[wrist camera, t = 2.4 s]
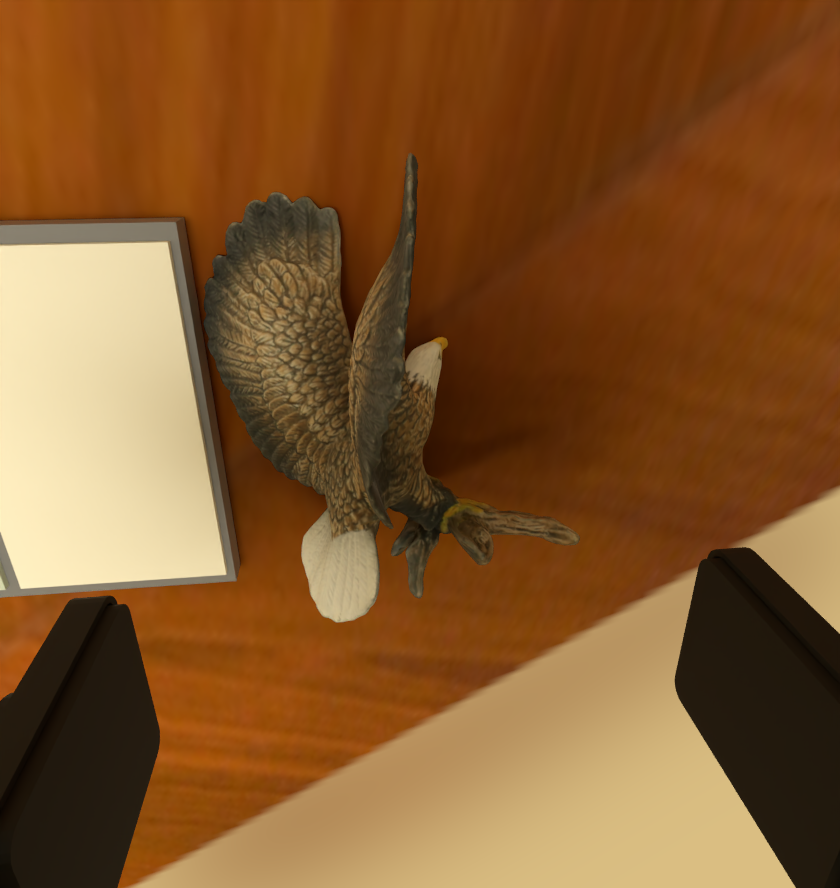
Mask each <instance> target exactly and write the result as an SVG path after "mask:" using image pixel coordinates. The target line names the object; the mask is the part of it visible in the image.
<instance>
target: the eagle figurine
mask: <svg viewBox="0 0 840 888" xmlns="http://www.w3.org/2000/svg"><path fill="white" fill-rule="evenodd" d="M405 169H406V174H405V184H404V198H403V210H402V217H401V224H400V230H399V233H398V236H397V239H396V242H395V245H394V247H393V250H392V252H391V255H390V256H389V258H388V260H387V261H386V263H385V264H384V266H383V267H382V269H381V271H380V273H379V275H378V277H377V279H376V281H375V283H374V285H373V287H372V288H371V289H370V291H369V293H368V295H367V298H366V301H365V303H364V306H363V309H362V311H361V314H360V316H359V318H358V321H357V323H356V329H355V332H354V339H353V346H352V342H351V337H350V333H349V330H348V326H347V321H346V317H345V314H344V311H343V307H342V301H341V293H340V284H341V264H342V262H341V253H340V246H341V233H340V227H339V222H338V215H337V212H336V211H335V210H334V209H333V208H329V207H326V208H323V209H319V208H318V207H317V206H316V205H315V204H314V203H313V201H312V200H311V199H310V198H309V197H301V198H299V199H297V200H296V201H295V202H294V203H292V202H291V201H290V200H289V199H288V197H287V196H286V195H284V194H282V193H279V192H273V193H271V194H270V196H269V197H268V199H267V202H261V201H260V200H253V201H251V202H250V203H249V204H248V205H247V206H246V209H245V213H244V218H243V221H242V222H241V223H238V222H233V223H231V224H230V225H229V227H228V229H227V232H226V239H225V245H226V251H227V256H221V255H217V256H216V257H215V258H214V259H213V263H212V265H213V270H214V277H213V278H210V279H208V281H207V283H206V285H205V287H204V288H205V299H204V310H205V312H206V317H205V320H204V323H203V324H204V328H205V331H206V333H207V335H208V337H209V341H208V344H207V345H208V348H209V351H210V353H211V355H212V356H213V357H214V359H215V361H216V367H217V370H218V372H219V373H220V377H221V380H222V382H223V384H224V385H225V387H226V388H227V389H229V390H230V391H231V393H230V398H231V400H232V401H233V403H234V405H235V406H236V410H237V412H238V415H239V417H240V418H241V419H242V420H243V421H244V422H245V423H246V430H247V432H248V434H249V435H250V436H251V438H252V441H253V443H254V444H255V445H256V446H257V447H258V448H259V449H260V451H261V452H262V454H263V456H264V457H265V458H267V459H269V460H270V461H271V462H272V463H273V465H274V467H275V468H276V470H277V471H279V472H282V473H284V474H285V475H286V476H287V477H288V478H289V479H291V480H295V479H296V480H299V482H300V483H302V484H303V485H305V486H307V487H310V486H313V488H314V490H315V491H316V492H317V493H318V494H319V495H325V497H326V501H327V505H328V508H327V509H326V511H325V512H324V513H323V514H322V515H321V517H320V518H319V519H318V520H317V521H316V522H315V523H314V524H313V525H312V526H311V527H310V529H309V530H308V531H307V533H306V534H305V535H304V537H303V543H302V554H301V556H302V562H303V565H304V567H305V572H306V575H307V577H308V581H309V588H310V594H311V596H312V598H313V600H314V601H315V602H316V606H317V609H318V610H319V612H320V613H321V615H322V616H324V617H326V618H330V619H332V620H333V621H335V622H345V621H351V620H355V619H356V618H358V617H360V616H362V615H365V614H366V613H367V612H368V610H369V609H370V607H371V606H372V605H373V604H374V603H375V601H376V598H377V595H378V591H379V579H380V572H379V559H378V553H377V546H376V541H375V538H376V534H377V531H378V528H379V522H380V520H381V521H382V522H383V523H384V525H385V526H387V527H389V528H390V529H393V525H392V523H391V521H390V518H389V516H388V514H387V511H386V510H387V508H391V509H392V510H394V511H397V512H401V513H403V514H404V515H406V516H407V517H408V520H407V522H406V524H405V527H404V529H403V530H402V532H401V534H400V535H399V536H398V538H397V539H396V541H395V542H394V544H393V546H392V550H391V554H392V556H398V555H399V554H401V553H402V552H403V551H404V550H405V549H406V548H407V547H408V548H407V550H406V558H407V562H408V571H409V578H408V581H409V588H410V591H411V593H412V594H413V595H414V596H415V597H417V598H421V597H422V595H423V576H424V570H425V567H426V564H427V561H428V558H429V556H430V554H431V552H432V550H433V549H434V548H435V546H436V545H437V543H438V541H439V534H440V533H443V534H448V533H452V534H453V535H454V537H455V538H456V539H457V541H458V542H459V543H460V545H461V546H462V547H463V548H464V550H465V551H466V552H467V553H468V554H469V555H470V556H471V557H472V559H473V560H474V561H475V562H476V563H477V564H478V565H486V564H488V563H489V562H490V560H491V558H492V555H493V541H492V537H491V536H490V535H493V534H507V535H527V536H536V537H540V538H544V539H545V540H547V541H550V542H553V543H556V544H562V545H576V544H577V543H578V542H579V540H580V537H579V535H578V534H577V533H576V532H575V531H573V530H572V529H571V528H569V527H567V526H565V525H564V524H562V523H560V522H559V521H557V520H556V519H554V518H551V517H546V516H544V517H541V516H536V515H533V514H530V513H523V512H520V511H499V510H497V509H496V508H494V507H492V506H490V505H487V504H485V503H483V502H477V501H474V500H470V499H467V498H458V497H457V496H455V495H454V494H453V492H452V491H451V490H450V489H448V488H446V487H444V486H443V484H442V483H441V481H440V480H439V479H438V478H435V477H431V476H430V475H427V473H426V472H425V468H424V465H423V456H422V455H423V447H424V445H425V443H426V441H427V438H428V435H429V433H430V430H431V426H432V422H433V418H434V413H435V407H434V404H435V400H436V391H437V385H438V381H439V376H440V371H441V366H442V351H443V350H444V349H445V348H446V347H447V346H448V341H447V339H446V338H444V337H438V338H436V339H434V340H432V341H430V342H428V343H425V344H423V345H421V346H418V347H417V348H415V349H413V350H412V352H411V353H410V354H409V356H408V357H407V359H406V361H405V352H404V346H405V342H406V328H407V315H408V308H409V303H410V297H411V277H412V270H413V261H414V245H415V239H416V215H417V184H418V179H417V169H418V163H417V160H416V157H415V156H414V155H413V154H412V153H409V155H408V158H407V161H406V168H405Z"/></svg>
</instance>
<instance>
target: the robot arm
mask: <svg viewBox="0 0 840 888" xmlns="http://www.w3.org/2000/svg"><path fill="white" fill-rule="evenodd" d="M675 687H676V692H677V695H678V697H679V699H680V701H681V703H682V704H683V706H684V708H685V709H686V711H687V712H688V714H689V716H690V717H691V719H692V721H693V722H694V724H695V725H696V727H697V729H698V730H699V732H700V733H701V735H702V737H703V738H704V740H705V742H706V743H707V745H708V746H709V748H710V750H711V751H712V753H713V755H714V756H715V758H716V759H717V761H718V762H719V764H720V766H721V767H722V769H723V770H724V772H725V774H726V775H727V777H728V779H729V780H730V782H731V783H732V785H733V787H734V788H735V790H736V792H737V793H738V795H739V797H740V798H741V800H742V801H743V803H744V805H745V806H746V808H747V809H748V811H749V813H750V814H751V816H752V818H753V819H754V821H755V822H756V824H757V826H758V827H759V829H760V830H761V832H762V834H763V835H764V837H765V839H766V840H767V842H768V843H769V845H770V847H771V848H772V850H773V851H774V853H775V855H776V856H777V858H778V860H779V861H780V863H781V864H782V866H783V868H784V869H785V871H786V872H787V874H788V876H789V877H790V879H791V881H792V882H793V884H794V885H795V887H796V888H840V634H839V633H838V632H837V631H836V630H835V629H834V628H833V627H832V626H831V625H830V624H829V623H828V622H827V621H826V620H825V619H824V618H823V617H822V616H821V615H820V614H819V613H817V612H816V611H815V610H814V609H813V608H812V607H811V606H810V605H809V604H808V603H807V602H806V601H805V600H804V599H803V598H802V597H801V596H800V595H799V594H798V593H797V592H796V591H795V590H794V589H793V588H792V587H791V586H790V585H789V584H787V582H785V581H784V580H783V579H782V578H781V577H780V576H779V575H778V574H777V573H776V572H775V571H774V570H773V569H772V568H771V567H770V566H769V565H768V564H767V563H766V562H765V561H764V560H763V559H762V558H761V557H760V556H759V555H758V554H757V553H756V552H754V551H753V550H752V549H750V548H746V547H742V548H729V549H716V550H713V551H711V552H710V554H709V555H708V558H707V559H704V560H702V561H701V562H700V564H699V567H698V572H697V577H696V581H695V586H694V591H693V595H692V600H691V605H690V609H689V614H688V619H687V623H686V628H685V633H684V637H683V642H682V647H681V651H680V656H679V661H678V665H677V670H676V675H675ZM159 743H160V730H159V725H158V721H157V717H156V713H155V709H154V705H153V701H152V697H151V693H150V689H149V685H148V681H147V677H146V673H145V669H144V665H143V661H142V657H141V653H140V649H139V645H138V641H137V637H136V633H135V629H134V625H133V622H132V618H131V614H130V610H129V608H128V606H127V605H125V604H120V605H118V604H117V601H116V599H115V598H114V597H113V596H100V597H87V598H74V599H72V600H70V601H69V602H68V604H67V605H66V606H65V608H64V610H63V611H62V613H61V615H60V616H59V618H58V620H57V621H56V623H55V625H54V626H53V628H52V630H51V631H50V633H49V635H48V636H47V638H46V640H45V641H44V643H43V645H42V646H41V648H40V650H39V651H38V653H37V655H36V656H35V658H34V660H33V661H32V663H31V665H30V666H29V668H28V670H27V671H26V673H25V675H24V676H23V678H22V680H21V681H20V683H19V685H18V686H17V688H16V690H15V691H14V693H10V694H9V695H7V696H5V697H4V698H3V699H2V700H1V701H0V888H117V887H118V884H119V880H120V877H121V874H122V870H123V867H124V864H125V860H126V857H127V854H128V850H129V847H130V844H131V840H132V837H133V834H134V830H135V827H136V824H137V820H138V817H139V814H140V810H141V807H142V804H143V801H144V797H145V794H146V791H147V787H148V784H149V781H150V777H151V774H152V771H153V767H154V764H155V761H156V757H157V754H158V750H159Z"/></svg>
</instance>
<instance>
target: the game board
mask: <svg viewBox="0 0 840 888" xmlns="http://www.w3.org/2000/svg"><path fill="white" fill-rule="evenodd" d="M239 568H240V559H239V553H238V546H237V540H236V534H235V528H234V522H233V516H232V510H231V503H230V497H229V491H228V485H227V479H226V473H225V466H224V460H223V454H222V448H221V442H220V436H219V430H218V423H217V417H216V411H215V405H214V399H213V393H212V387H211V380H210V374H209V368H208V362H207V356H206V350H205V343H204V337H203V331H202V325H201V319H200V313H199V307H198V300H197V294H196V288H195V282H194V276H193V270H192V264H191V257H190V251H189V245H188V239H187V233H186V227H185V220H184V217H175V218H119V219H63V220H7V221H0V597H12V596H27V595H41V594H56V593H70V592H85V591H99V590H113V589H128V588H142V587H157V586H171V585H186V584H200V583H214V582H229V581H236V580H237V576H238V572H239Z"/></svg>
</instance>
